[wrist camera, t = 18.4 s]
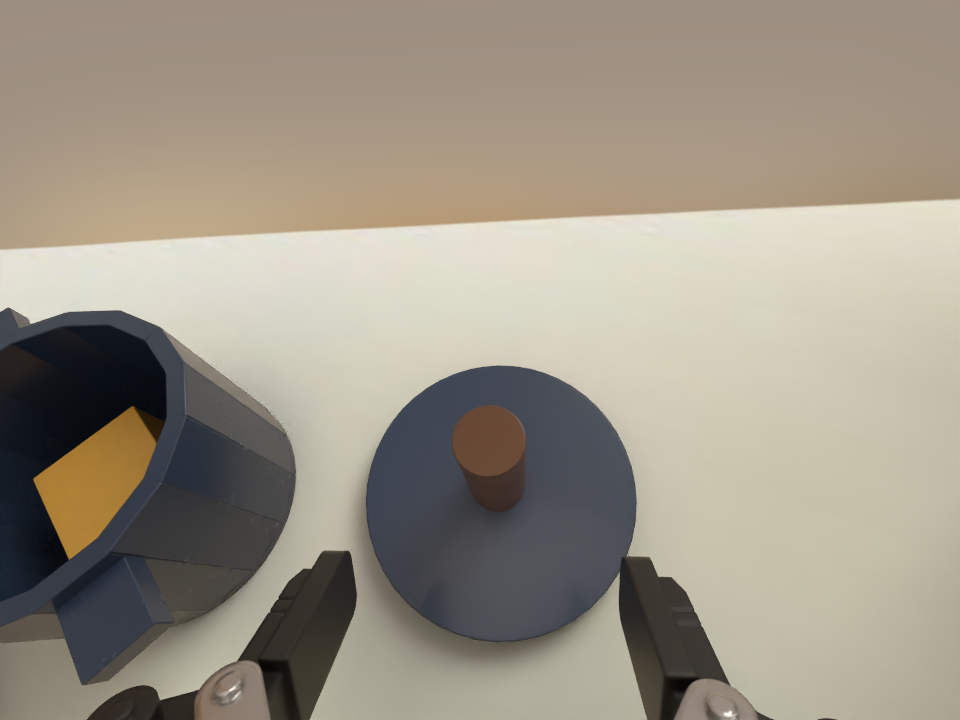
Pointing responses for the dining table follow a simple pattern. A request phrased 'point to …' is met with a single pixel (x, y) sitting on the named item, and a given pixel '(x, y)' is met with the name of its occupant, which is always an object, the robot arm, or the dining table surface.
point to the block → (98, 477)
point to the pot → (155, 501)
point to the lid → (501, 503)
